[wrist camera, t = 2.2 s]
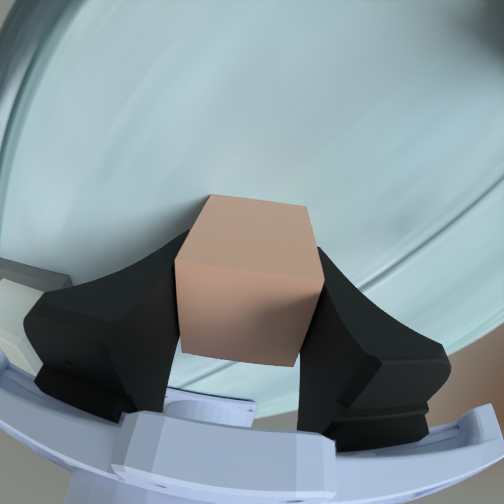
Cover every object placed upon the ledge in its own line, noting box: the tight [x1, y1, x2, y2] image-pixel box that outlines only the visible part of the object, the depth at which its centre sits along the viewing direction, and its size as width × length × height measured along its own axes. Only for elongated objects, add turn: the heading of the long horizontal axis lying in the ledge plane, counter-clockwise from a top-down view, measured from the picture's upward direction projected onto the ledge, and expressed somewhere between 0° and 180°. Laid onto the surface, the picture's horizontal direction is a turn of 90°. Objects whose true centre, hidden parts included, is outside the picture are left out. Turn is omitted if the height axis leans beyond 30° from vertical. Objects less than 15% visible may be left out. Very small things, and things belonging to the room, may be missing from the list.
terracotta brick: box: [175, 194, 325, 367], centre depth 10 cm, size 4×4×5 cm
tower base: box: [0, 258, 72, 376], centre depth 14 cm, size 8×8×6 cm
